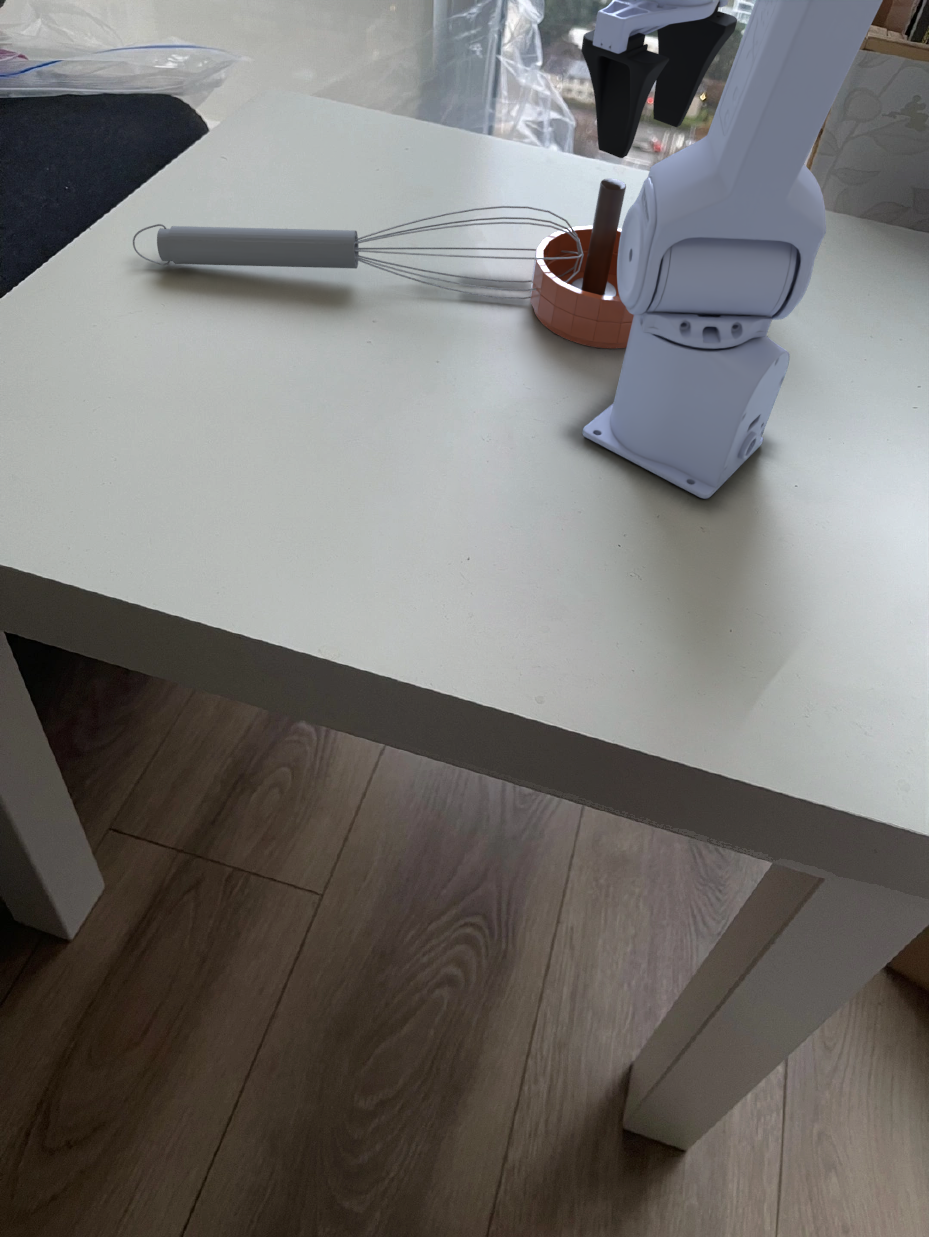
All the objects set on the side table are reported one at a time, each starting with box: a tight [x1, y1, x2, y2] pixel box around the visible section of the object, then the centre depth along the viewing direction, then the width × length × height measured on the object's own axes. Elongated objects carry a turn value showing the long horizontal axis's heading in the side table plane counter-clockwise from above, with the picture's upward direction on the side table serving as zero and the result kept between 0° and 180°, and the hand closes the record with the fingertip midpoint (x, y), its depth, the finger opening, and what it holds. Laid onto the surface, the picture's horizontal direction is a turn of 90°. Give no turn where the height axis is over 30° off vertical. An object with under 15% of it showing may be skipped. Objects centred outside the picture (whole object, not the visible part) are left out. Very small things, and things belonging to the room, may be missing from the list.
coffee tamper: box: [571, 178, 627, 297], centre depth 69 cm, size 4×4×9 cm
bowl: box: [529, 224, 634, 350], centre depth 71 cm, size 11×11×4 cm
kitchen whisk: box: [132, 205, 584, 300], centre depth 71 cm, size 6×34×6 cm, turn 88°
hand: (640, 137), depth 69 cm, fingers open, 7 cm apart
